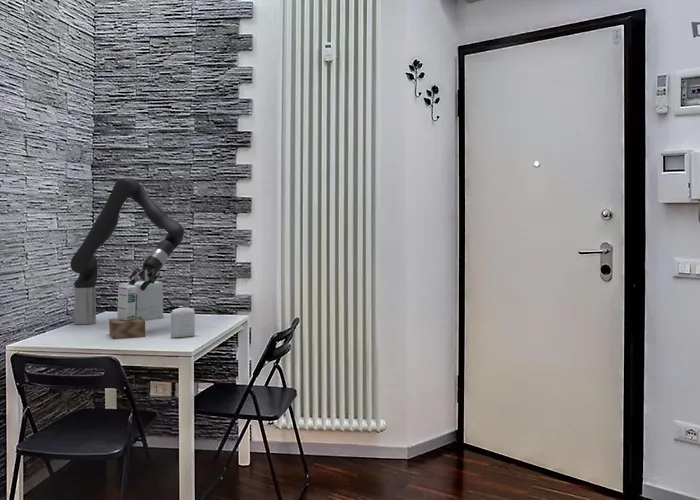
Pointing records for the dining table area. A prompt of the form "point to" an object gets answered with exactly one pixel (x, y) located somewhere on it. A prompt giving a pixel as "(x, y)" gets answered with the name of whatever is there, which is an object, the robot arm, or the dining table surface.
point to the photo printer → (182, 322)
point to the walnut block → (126, 328)
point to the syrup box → (127, 302)
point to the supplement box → (149, 300)
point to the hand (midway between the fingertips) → (134, 288)
